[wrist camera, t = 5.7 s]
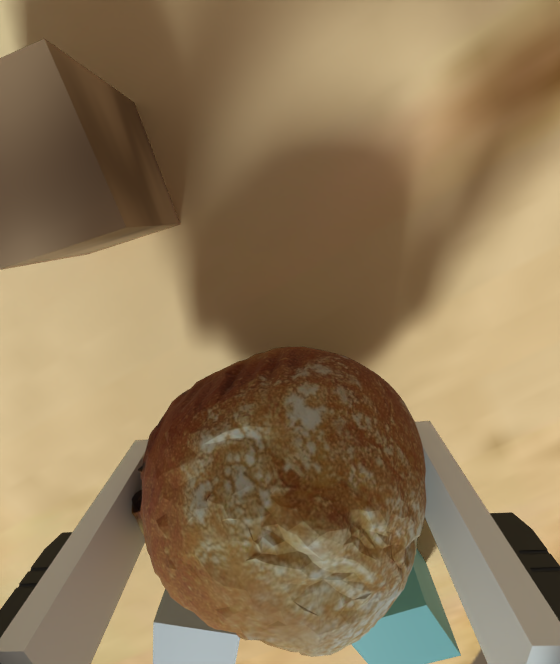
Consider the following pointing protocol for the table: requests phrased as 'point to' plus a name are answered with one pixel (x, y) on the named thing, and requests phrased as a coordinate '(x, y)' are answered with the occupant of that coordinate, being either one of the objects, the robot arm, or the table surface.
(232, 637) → the slate grey block
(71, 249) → the walnut block
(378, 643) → the dark teal block
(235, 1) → the table surface
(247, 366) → the bread roll
